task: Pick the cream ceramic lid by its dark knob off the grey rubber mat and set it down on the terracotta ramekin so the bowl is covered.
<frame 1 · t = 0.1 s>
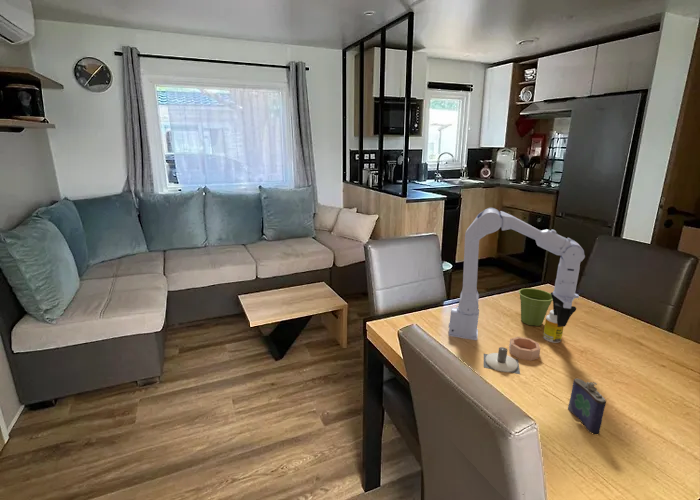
hand: (559, 320, 122), 10 cm above the table, fingers open, 7 cm apart
lid: (501, 363, 115), resting on mat
bowl: (523, 353, 121), on the table
plant pot: (531, 322, 143), on the table
supplement bottle: (551, 340, 130), on the table, touching gripper
flask: (583, 421, 92), on the table
mat: (500, 364, 115), on the table
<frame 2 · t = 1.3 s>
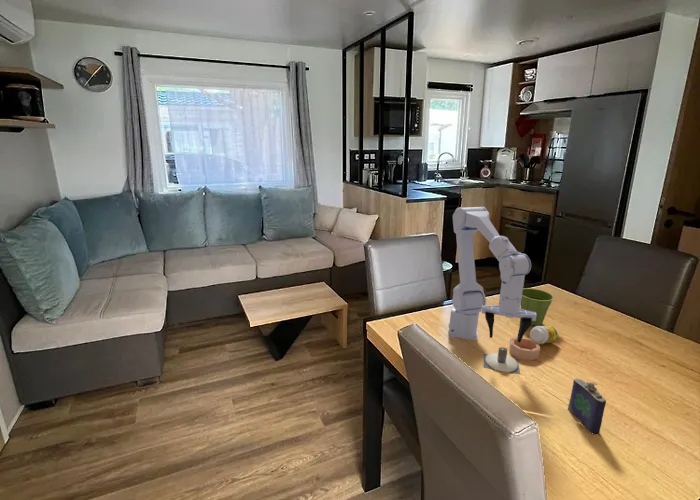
hand: (504, 338, 113), 9 cm above the table, fingers open, 7 cm apart
supplement bottle: (550, 334, 128), point 3 cm above the table, touching bowl
everything else where it was.
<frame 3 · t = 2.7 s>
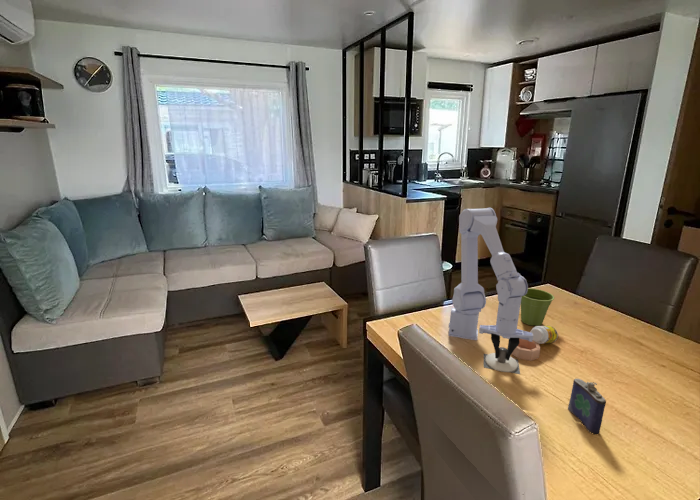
hand: (501, 357, 115), 2 cm above the table, fingers closed on lid, 2 cm apart
lid: (501, 363, 115), resting on mat, touching gripper
everything else where it was.
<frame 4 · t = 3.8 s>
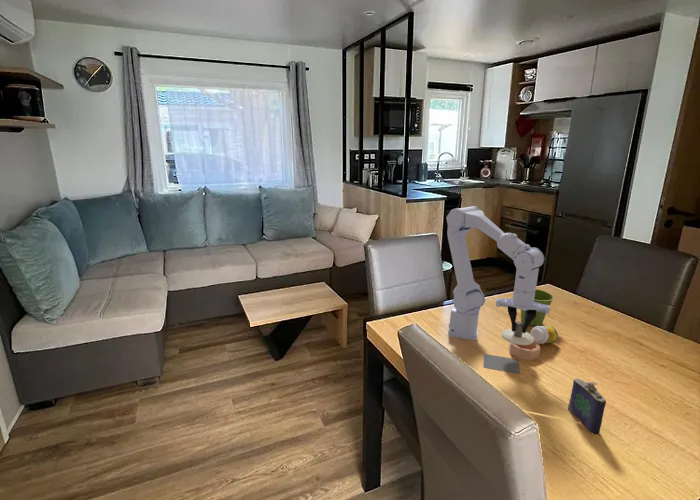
hand: (518, 330, 116), 9 cm above the table, fingers closed on lid, 2 cm apart
lid: (517, 337, 116), point 7 cm above the table, touching gripper
everything else where it was.
when the fingers open (7 cm above the table, at t = 4.9 s): lid stays where it is, resting on supplement bottle, bowl.
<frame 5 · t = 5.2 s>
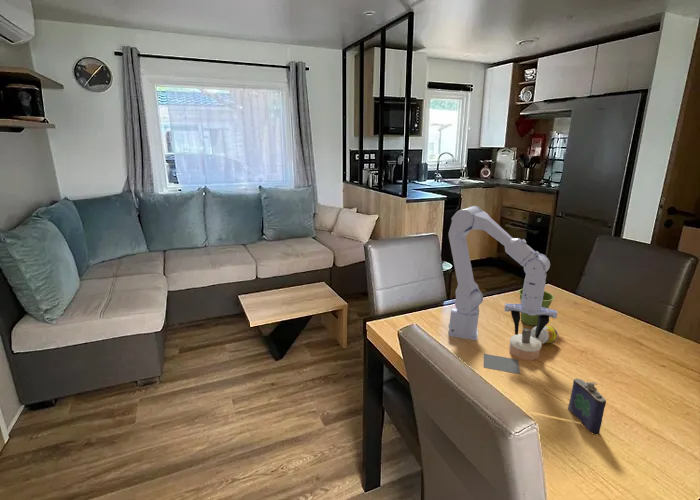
hand: (526, 334, 119), 7 cm above the table, fingers open, 5 cm apart
lid: (525, 343, 120), point 4 cm above the table, touching supplement bottle, bowl
supplement bottle: (550, 334, 128), point 3 cm above the table, touching bowl, lid
everything else where it was.
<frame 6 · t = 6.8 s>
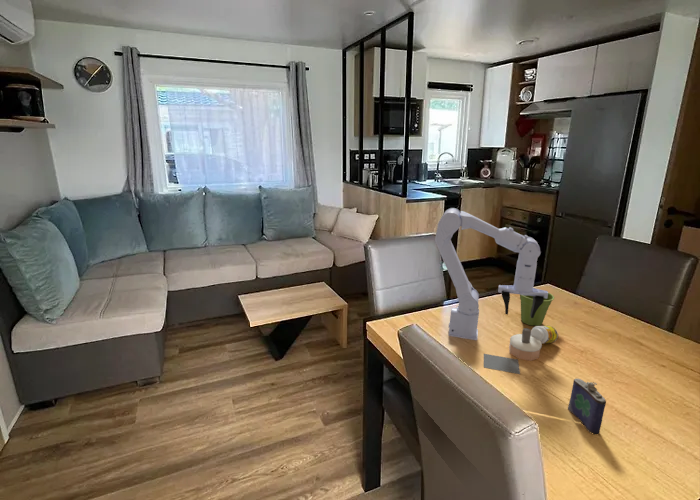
hand: (519, 314, 125), 10 cm above the table, fingers open, 7 cm apart
nothing on the table moved.
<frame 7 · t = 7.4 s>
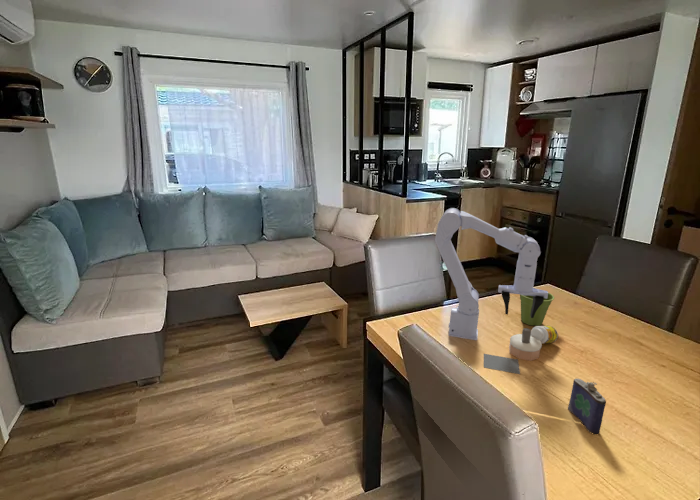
hand: (519, 314, 125), 10 cm above the table, fingers open, 7 cm apart
nothing on the table moved.
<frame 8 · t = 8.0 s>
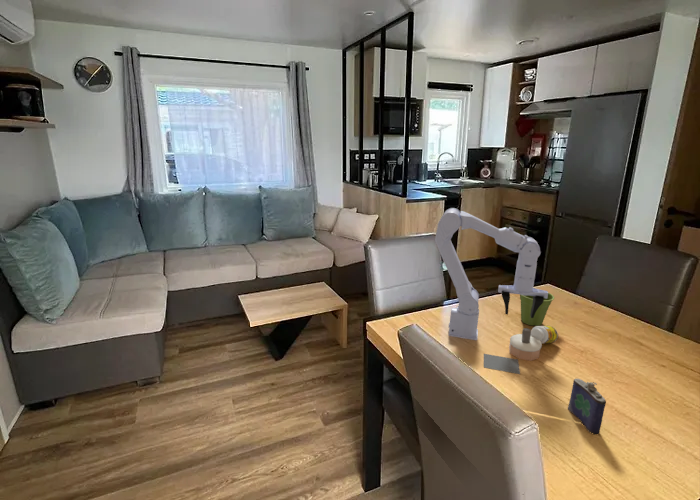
hand: (519, 314, 125), 10 cm above the table, fingers open, 7 cm apart
nothing on the table moved.
at the end: lid 0.5 cm off-centre on the bowl, point 3.8 cm above the bowl's base; lid tilted 4°; the gripper is holding nothing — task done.
